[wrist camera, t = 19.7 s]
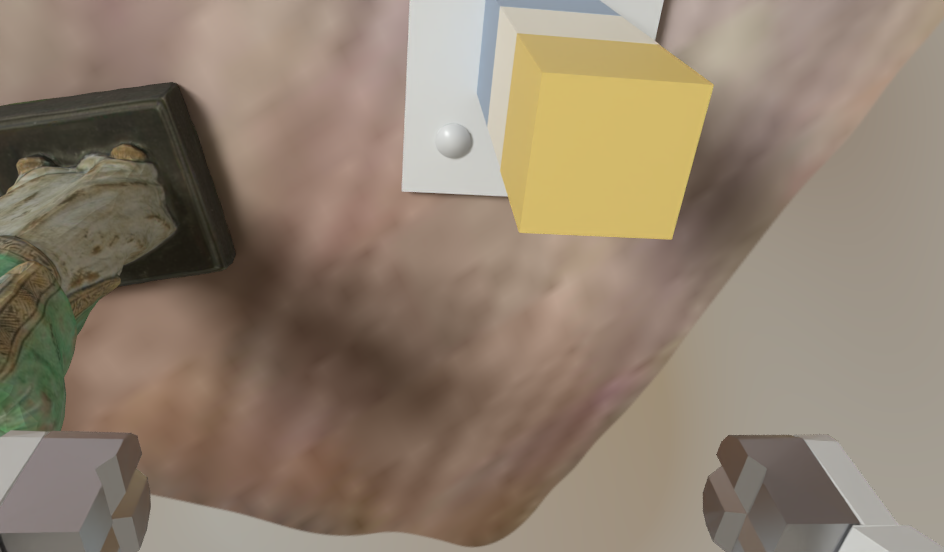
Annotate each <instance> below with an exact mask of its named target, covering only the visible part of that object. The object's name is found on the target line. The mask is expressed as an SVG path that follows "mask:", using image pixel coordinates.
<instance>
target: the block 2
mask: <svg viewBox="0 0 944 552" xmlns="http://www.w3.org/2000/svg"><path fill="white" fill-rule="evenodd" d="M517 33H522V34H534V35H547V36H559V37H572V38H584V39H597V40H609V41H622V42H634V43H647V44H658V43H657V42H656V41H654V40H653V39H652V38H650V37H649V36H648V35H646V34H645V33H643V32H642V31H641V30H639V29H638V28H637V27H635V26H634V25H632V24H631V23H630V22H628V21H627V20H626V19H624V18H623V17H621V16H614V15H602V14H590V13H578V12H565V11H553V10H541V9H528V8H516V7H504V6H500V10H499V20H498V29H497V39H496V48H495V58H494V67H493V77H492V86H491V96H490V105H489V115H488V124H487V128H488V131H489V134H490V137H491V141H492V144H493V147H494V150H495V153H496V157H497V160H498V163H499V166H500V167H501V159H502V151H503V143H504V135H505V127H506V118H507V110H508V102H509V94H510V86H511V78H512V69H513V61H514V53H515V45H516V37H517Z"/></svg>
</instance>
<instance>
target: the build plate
mask: <svg viewBox="0 0 944 552" xmlns="http://www.w3.org/2000/svg"><path fill="white" fill-rule="evenodd" d="M600 1H601V2H603V3H604V4H605V5H607V6H608V7H610V8H611V9H612V10H614V11H615V12H616V13H618V14H619V15H621V17H623V18H624V19H626V20H627V21H628V22H630V23H631V24H632V25H634V26H635V27H637V28H638V29H639V30H641V31H642V32H643V33H645V34H646V35H648V36H649V37H650V38H652V39H653V40H654V41H655V38H656V34H657V29H658V25H659V20H660V15H661V11H662V6H663V2H664V0H600ZM484 11H485V0H410V3H409V26H408V50H407V74H406V98H405V121H404V145H403V169H402V191H405V192H426V193H446V194H467V195H488V196H508V195H507V192H506V189H505V185H504V182H503V179H502V176H501V172H500V166H499V163H498V160H497V157H496V153H495V150H494V147H493V144H492V141H491V137H490V134H489V131H488V128H487V125H486V121H485V118H484V115H483V112H482V109H481V105H480V102H479V99H478V96H477V85H478V74H479V64H480V53H481V43H482V32H483V21H484Z"/></svg>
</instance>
